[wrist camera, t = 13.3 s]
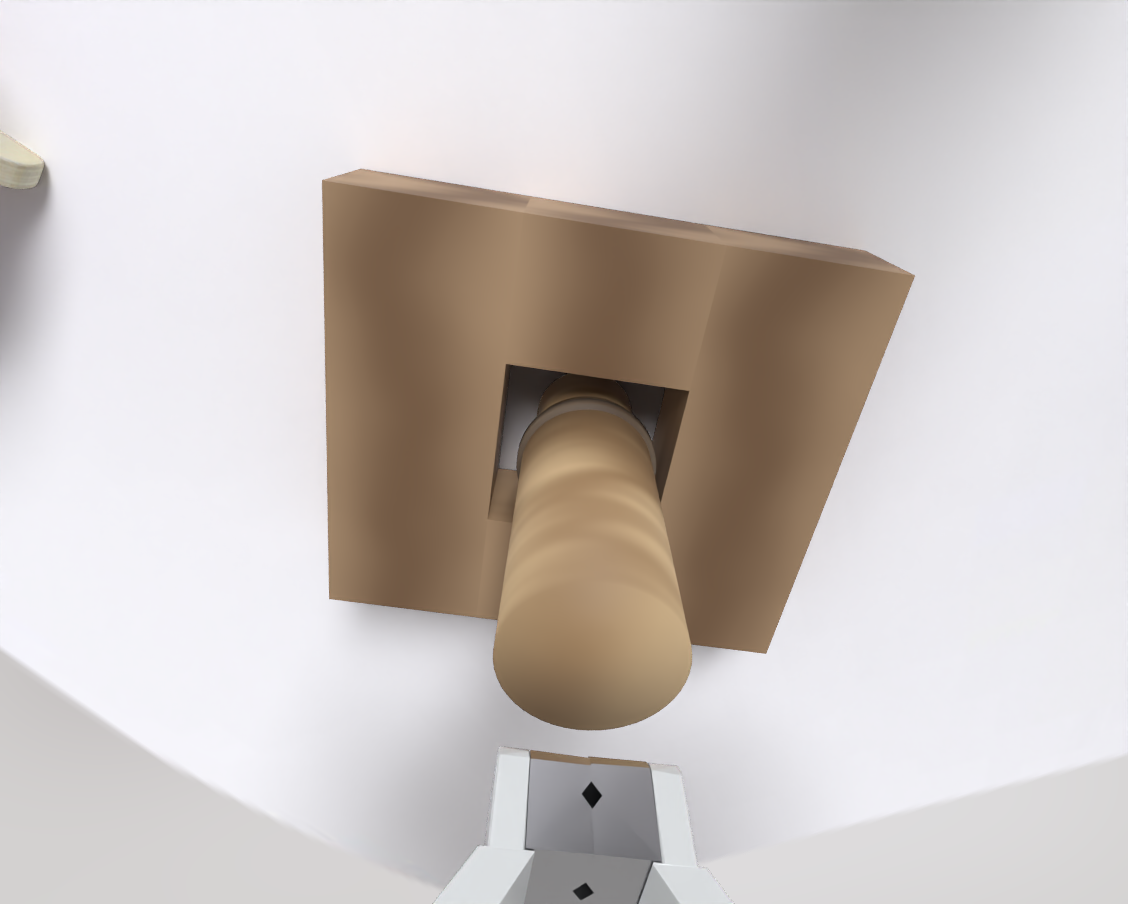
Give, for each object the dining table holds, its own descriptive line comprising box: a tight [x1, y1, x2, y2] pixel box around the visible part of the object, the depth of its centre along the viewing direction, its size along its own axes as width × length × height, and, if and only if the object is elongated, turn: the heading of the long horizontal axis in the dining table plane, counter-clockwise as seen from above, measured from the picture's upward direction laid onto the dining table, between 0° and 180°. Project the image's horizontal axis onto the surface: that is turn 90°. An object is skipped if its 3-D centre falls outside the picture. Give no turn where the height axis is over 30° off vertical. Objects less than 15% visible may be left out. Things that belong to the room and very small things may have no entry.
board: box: [322, 169, 915, 654], centre depth 22 cm, size 16×14×4 cm
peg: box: [493, 373, 692, 730], centre depth 19 cm, size 4×4×12 cm
